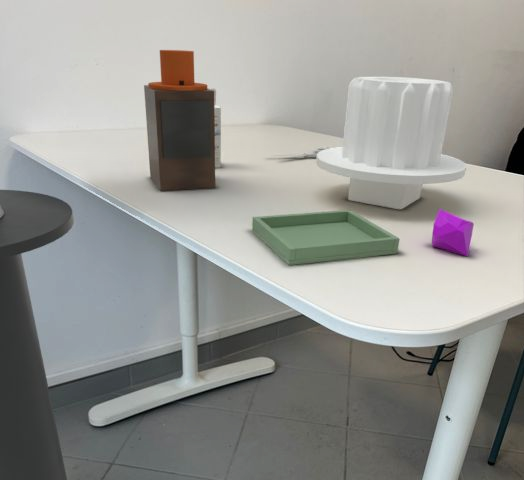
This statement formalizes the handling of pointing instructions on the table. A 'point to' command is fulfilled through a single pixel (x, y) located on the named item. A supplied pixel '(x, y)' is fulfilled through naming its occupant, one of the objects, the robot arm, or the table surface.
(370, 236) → the tray
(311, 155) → the scissors
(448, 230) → the crystal
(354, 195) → the flanged gear
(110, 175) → the table surface
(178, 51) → the hat
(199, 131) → the cabinet
